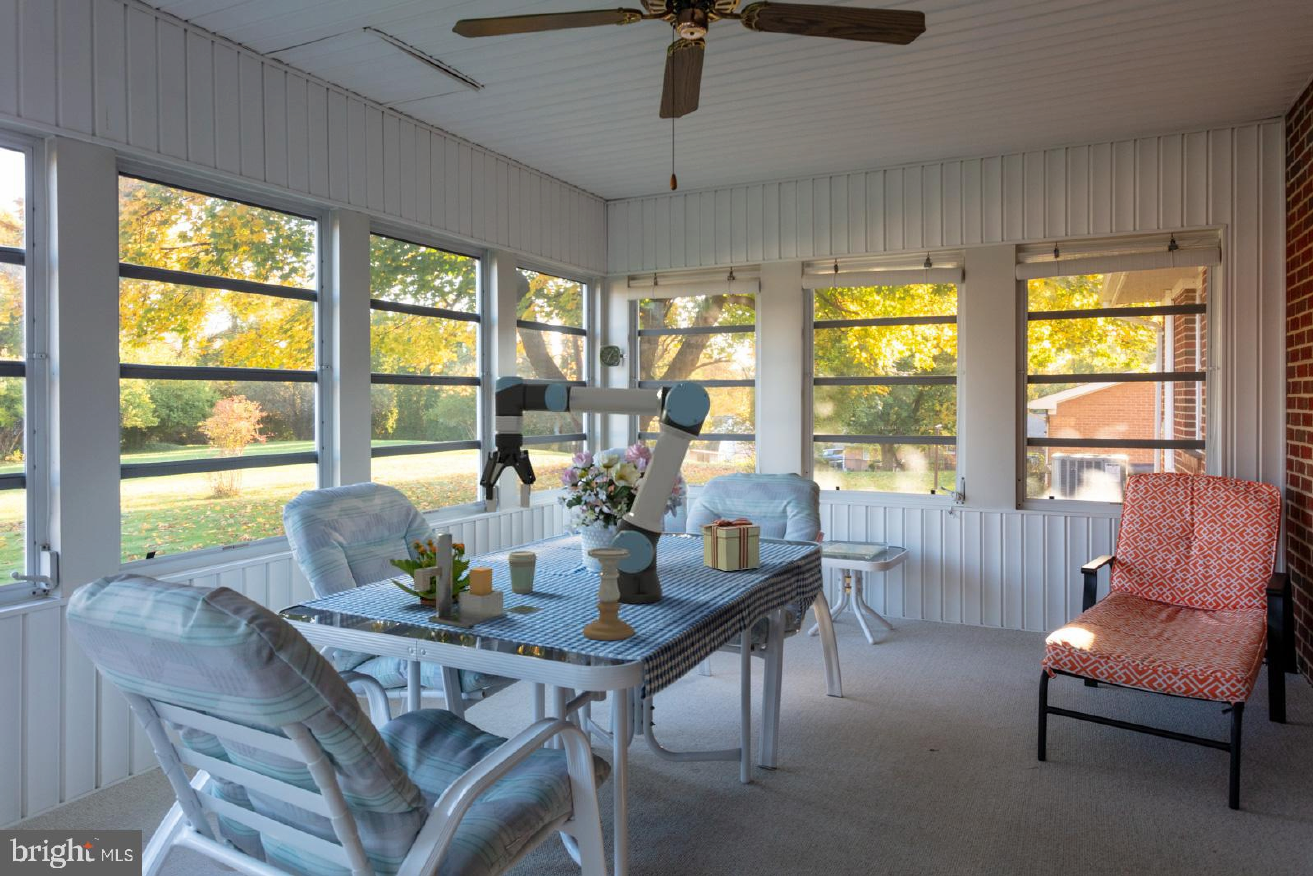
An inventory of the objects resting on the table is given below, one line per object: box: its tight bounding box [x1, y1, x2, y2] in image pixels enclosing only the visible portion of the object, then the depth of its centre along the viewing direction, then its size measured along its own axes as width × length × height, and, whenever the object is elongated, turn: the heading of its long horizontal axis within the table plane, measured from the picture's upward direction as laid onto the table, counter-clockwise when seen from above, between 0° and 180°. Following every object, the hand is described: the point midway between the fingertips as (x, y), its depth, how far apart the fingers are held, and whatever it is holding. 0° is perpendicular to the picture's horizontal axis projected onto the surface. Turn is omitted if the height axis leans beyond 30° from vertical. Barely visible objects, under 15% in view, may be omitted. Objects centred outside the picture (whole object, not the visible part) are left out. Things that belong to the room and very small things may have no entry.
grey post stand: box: [413, 532, 508, 630], centre depth 212 cm, size 14×19×22 cm
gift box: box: [699, 517, 761, 572], centre depth 292 cm, size 17×18×17 cm
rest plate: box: [503, 604, 544, 616], centre depth 223 cm, size 8×8×1 cm
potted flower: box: [389, 538, 471, 607], centre depth 233 cm, size 25×24×18 cm
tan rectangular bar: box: [469, 566, 493, 595], centre depth 215 cm, size 4×4×12 cm
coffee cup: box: [507, 550, 538, 595], centre depth 246 cm, size 8×9×12 cm
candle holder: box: [582, 547, 635, 641], centre depth 201 cm, size 12×12×20 cm
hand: (508, 509), depth 229 cm, fingers open, 13 cm apart
